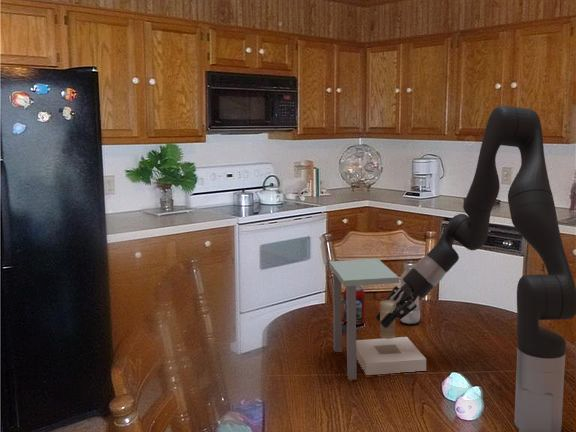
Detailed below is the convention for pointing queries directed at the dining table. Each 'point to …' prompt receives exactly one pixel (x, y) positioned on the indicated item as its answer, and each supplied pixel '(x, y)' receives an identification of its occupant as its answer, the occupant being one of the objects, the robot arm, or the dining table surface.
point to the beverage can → (357, 304)
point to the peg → (384, 310)
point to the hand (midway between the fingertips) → (380, 322)
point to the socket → (389, 356)
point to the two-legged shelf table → (354, 299)
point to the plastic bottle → (414, 314)
